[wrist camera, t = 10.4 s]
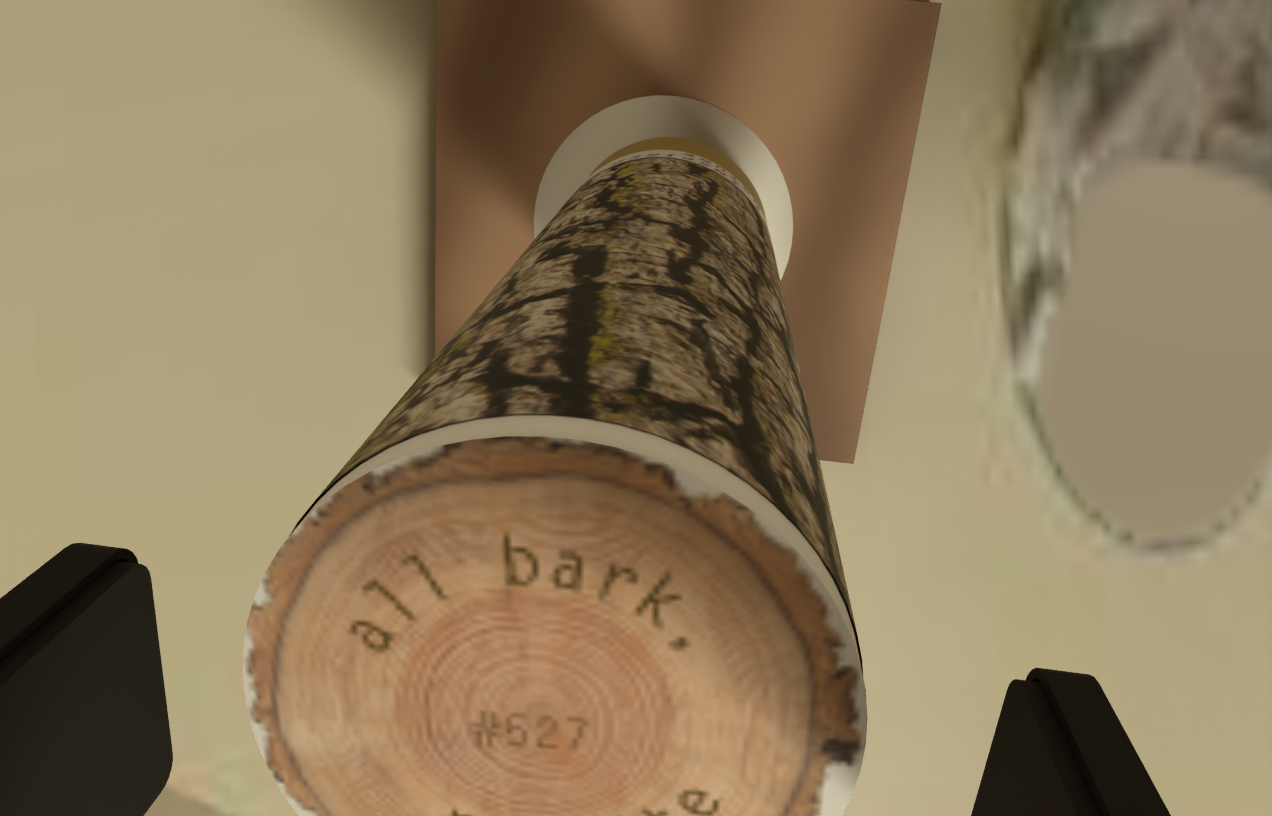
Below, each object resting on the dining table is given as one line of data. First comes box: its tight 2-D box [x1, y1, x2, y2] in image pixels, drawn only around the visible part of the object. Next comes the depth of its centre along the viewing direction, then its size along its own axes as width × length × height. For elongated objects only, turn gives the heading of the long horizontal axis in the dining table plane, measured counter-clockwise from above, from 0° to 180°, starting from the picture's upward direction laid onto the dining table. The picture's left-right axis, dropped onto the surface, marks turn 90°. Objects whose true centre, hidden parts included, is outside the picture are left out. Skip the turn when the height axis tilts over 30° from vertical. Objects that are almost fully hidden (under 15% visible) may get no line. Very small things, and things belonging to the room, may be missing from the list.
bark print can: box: [243, 137, 867, 816], centre depth 22 cm, size 7×7×25 cm
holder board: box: [435, 0, 941, 464], centre depth 34 cm, size 16×16×2 cm
